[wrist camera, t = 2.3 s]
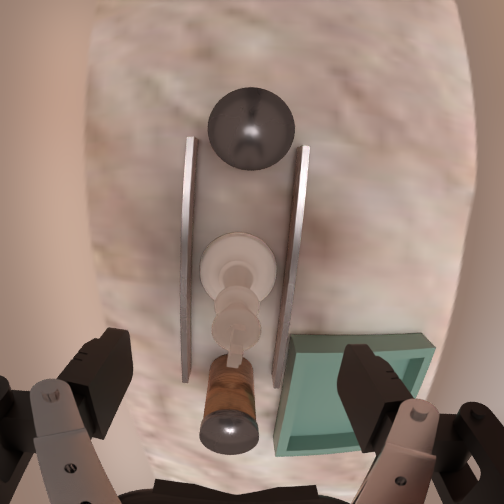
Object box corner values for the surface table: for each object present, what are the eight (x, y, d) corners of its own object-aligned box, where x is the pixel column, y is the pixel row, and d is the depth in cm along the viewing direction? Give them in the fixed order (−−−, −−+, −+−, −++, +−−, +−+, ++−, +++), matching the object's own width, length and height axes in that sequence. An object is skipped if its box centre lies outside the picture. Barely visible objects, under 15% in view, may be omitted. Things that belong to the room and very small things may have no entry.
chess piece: (195, 298, 21) (163, 397, 11) (205, 225, 19) (172, 282, 10) (267, 310, 21) (287, 414, 11) (283, 239, 20) (322, 306, 10)
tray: (291, 334, 22) (296, 352, 19) (421, 333, 22) (435, 347, 20) (273, 437, 24) (275, 456, 22) (384, 428, 25) (392, 445, 23)
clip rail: (194, 112, 18) (170, 84, 11) (305, 121, 18) (338, 98, 11) (186, 385, 22) (172, 449, 16) (274, 390, 23) (283, 455, 16)
